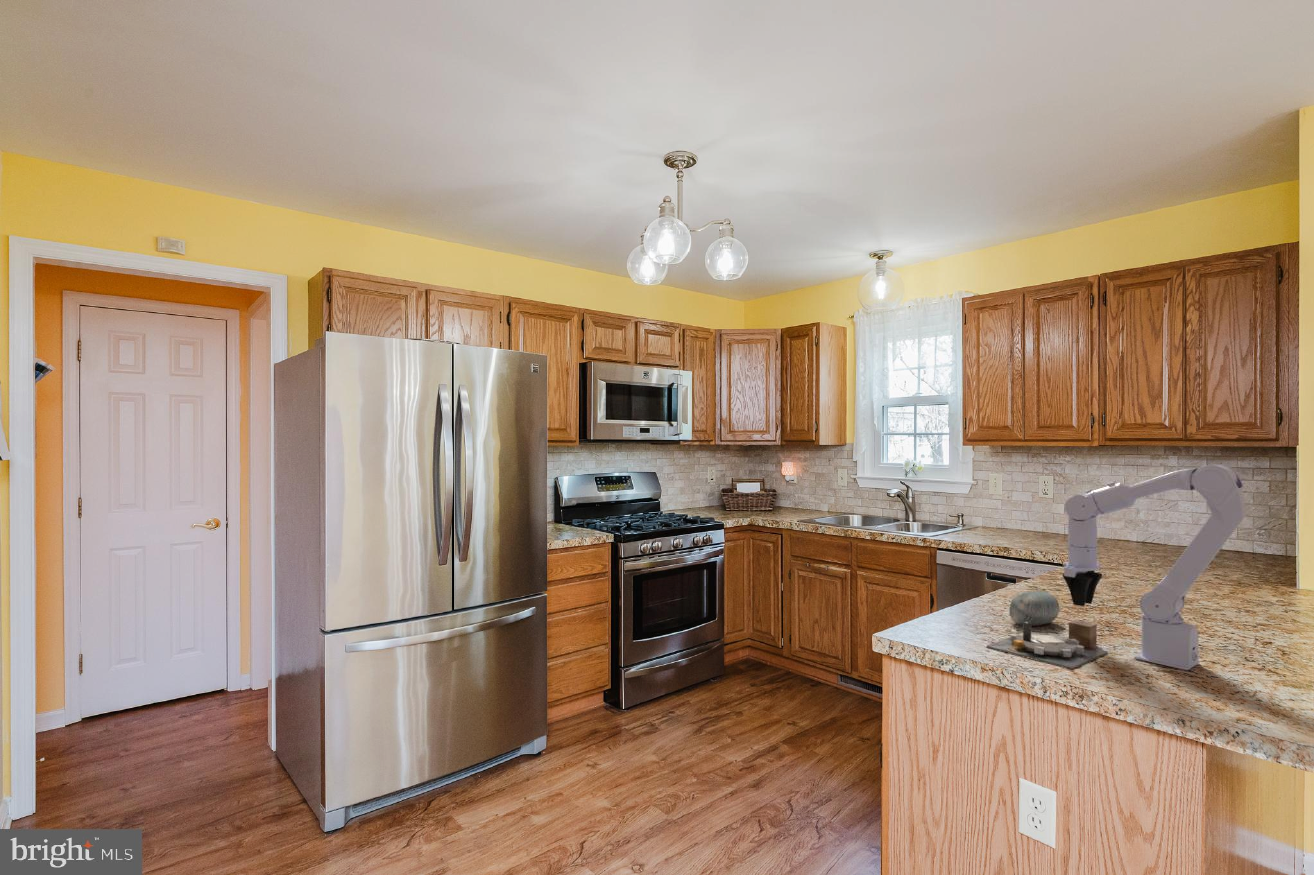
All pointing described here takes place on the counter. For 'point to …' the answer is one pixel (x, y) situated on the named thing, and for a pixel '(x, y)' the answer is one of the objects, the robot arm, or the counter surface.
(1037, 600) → the grey oval stone
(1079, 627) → the link block
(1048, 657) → the plate
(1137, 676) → the counter surface
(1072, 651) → the sprocket
